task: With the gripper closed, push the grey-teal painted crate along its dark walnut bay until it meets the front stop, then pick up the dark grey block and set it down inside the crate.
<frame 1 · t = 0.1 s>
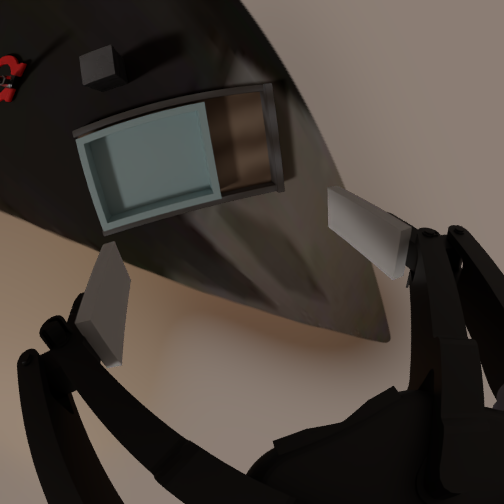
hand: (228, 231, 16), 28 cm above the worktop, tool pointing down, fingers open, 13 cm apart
bay: (179, 153, 38), on the worktop
dark grey block: (113, 76, 29), on the worktop
crate: (149, 164, 35), point 3 cm above the worktop, slide at 0.0 cm
tow hook: (4, 79, 21), on the worktop
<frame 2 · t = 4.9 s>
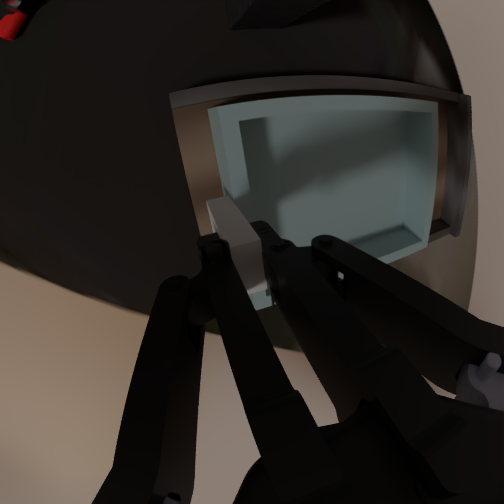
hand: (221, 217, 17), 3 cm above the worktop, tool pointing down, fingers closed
bay: (356, 171, 23), on the worktop
dark grey block: (252, 7, 14), on the worktop
crate: (346, 186, 19), point 3 cm above the worktop, slide at 1.3 cm, touching gripper
tow hook: (6, 6, 6), on the worktop
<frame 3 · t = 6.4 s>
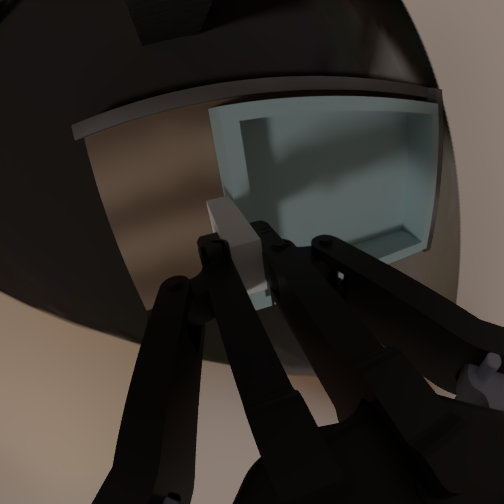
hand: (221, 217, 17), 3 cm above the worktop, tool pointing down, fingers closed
bay: (293, 183, 21), on the worktop
dark grey block: (167, 17, 12), on the worktop
crate: (346, 187, 19), point 3 cm above the worktop, slide at 7.6 cm, touching gripper
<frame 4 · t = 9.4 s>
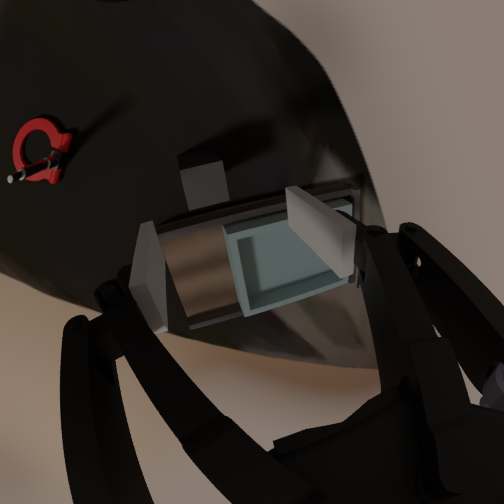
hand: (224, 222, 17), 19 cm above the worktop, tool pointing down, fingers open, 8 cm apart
bay: (265, 251, 42), on the worktop
dark grey block: (195, 166, 33), on the worktop
crate: (292, 255, 40), point 3 cm above the worktop, slide at 7.7 cm
tow hook: (41, 149, 25), on the worktop
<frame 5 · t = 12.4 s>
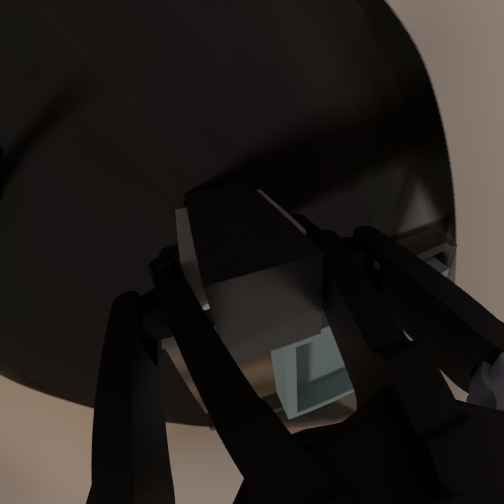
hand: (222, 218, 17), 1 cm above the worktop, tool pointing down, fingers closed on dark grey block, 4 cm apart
bay: (320, 332, 27), on the worktop
dark grey block: (220, 215, 18), on the worktop, touching gripper
crate: (361, 340, 25), point 3 cm above the worktop, slide at 7.7 cm
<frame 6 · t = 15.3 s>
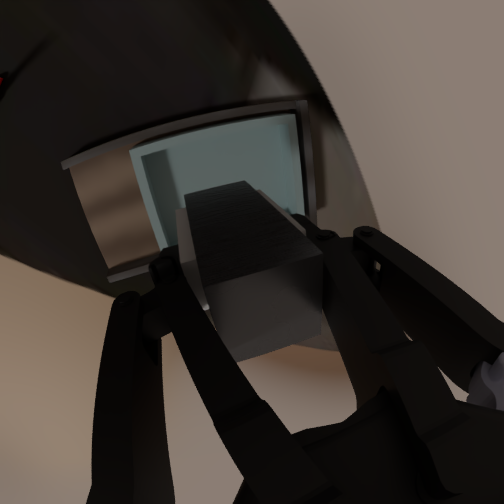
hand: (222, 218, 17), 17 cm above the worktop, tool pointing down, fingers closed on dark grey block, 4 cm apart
bay: (193, 184, 33), on the worktop
dark grey block: (220, 215, 18), point 17 cm above the worktop, touching gripper
crate: (222, 184, 31), point 3 cm above the worktop, slide at 7.7 cm
when the fingers open (5 cm above the worktop, at t = 18.1 s): dark grey block drops 2 cm, resting on crate.
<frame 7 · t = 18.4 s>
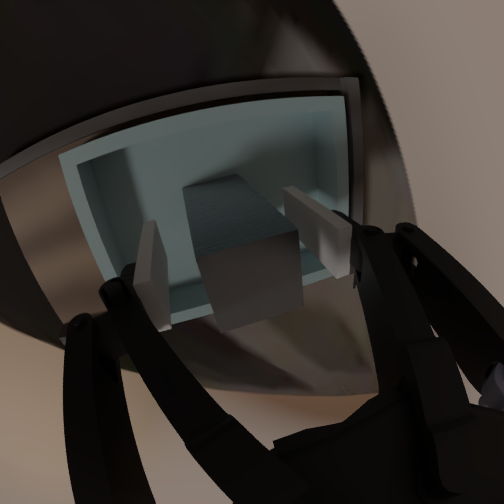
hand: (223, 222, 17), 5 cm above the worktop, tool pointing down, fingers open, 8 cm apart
bay: (174, 207, 21), on the worktop
dark grey block: (215, 206, 19), point 2 cm above the worktop, touching crate
crate: (220, 210, 19), point 3 cm above the worktop, slide at 7.7 cm, touching dark grey block
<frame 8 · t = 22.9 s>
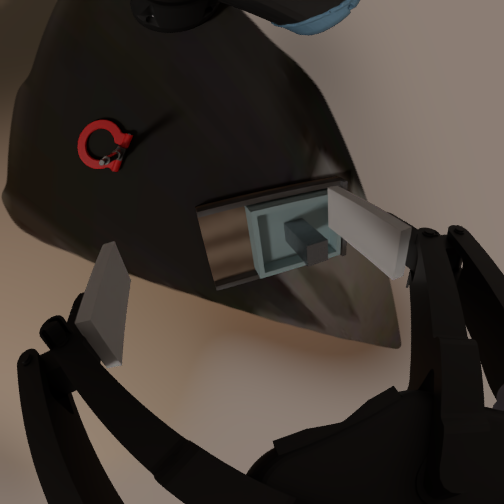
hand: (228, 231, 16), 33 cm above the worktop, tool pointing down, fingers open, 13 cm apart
bay: (275, 228, 55), on the worktop
dark grey block: (293, 229, 53), point 2 cm above the worktop, touching crate
crate: (296, 231, 53), point 3 cm above the worktop, slide at 7.7 cm, touching dark grey block
tow hook: (103, 144, 38), on the worktop
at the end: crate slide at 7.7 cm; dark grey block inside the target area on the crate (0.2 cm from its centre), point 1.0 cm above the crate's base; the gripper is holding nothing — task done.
